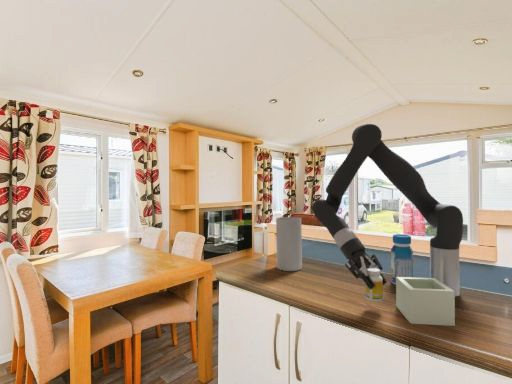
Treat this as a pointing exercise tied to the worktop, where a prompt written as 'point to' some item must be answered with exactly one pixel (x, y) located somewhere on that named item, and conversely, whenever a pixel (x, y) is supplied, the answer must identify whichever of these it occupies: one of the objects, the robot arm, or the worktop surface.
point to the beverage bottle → (401, 257)
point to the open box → (425, 301)
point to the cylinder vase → (289, 243)
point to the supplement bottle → (377, 291)
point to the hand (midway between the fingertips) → (378, 285)
